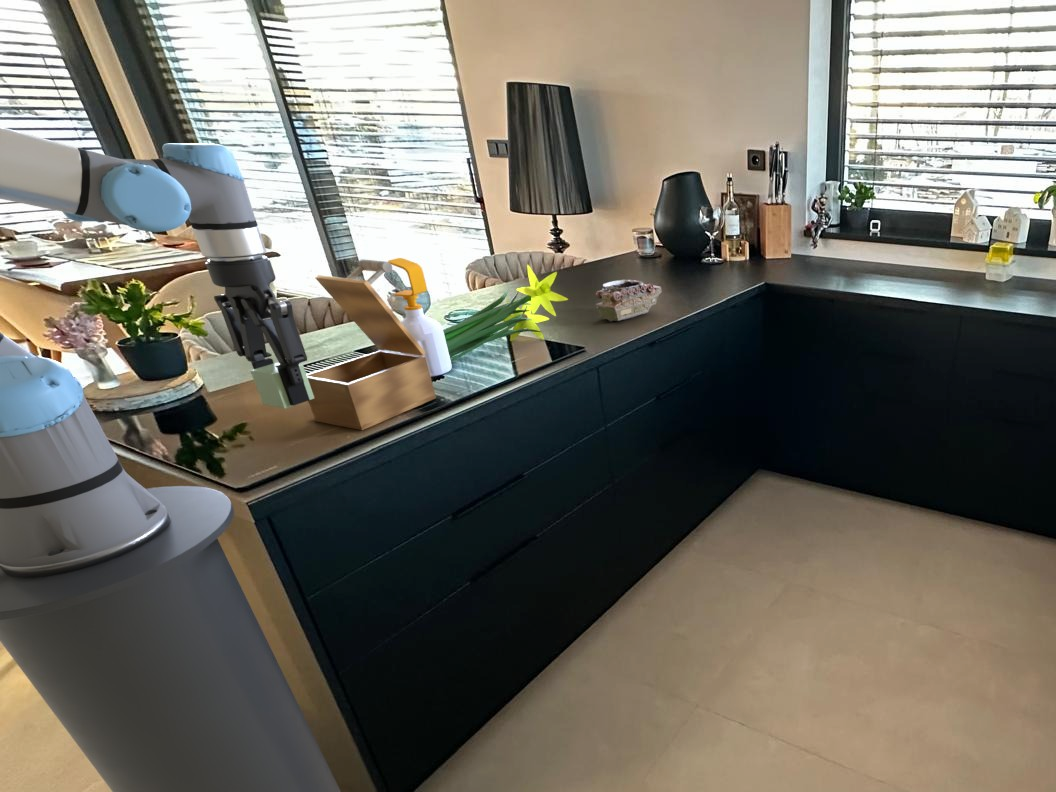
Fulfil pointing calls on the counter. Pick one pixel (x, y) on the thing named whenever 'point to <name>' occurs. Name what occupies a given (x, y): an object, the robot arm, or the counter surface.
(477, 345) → the daffodil flowers
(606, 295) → the decorative box
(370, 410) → the chest
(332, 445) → the counter surface
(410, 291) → the soap bottle
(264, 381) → the block
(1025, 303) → the counter surface
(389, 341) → the lid
